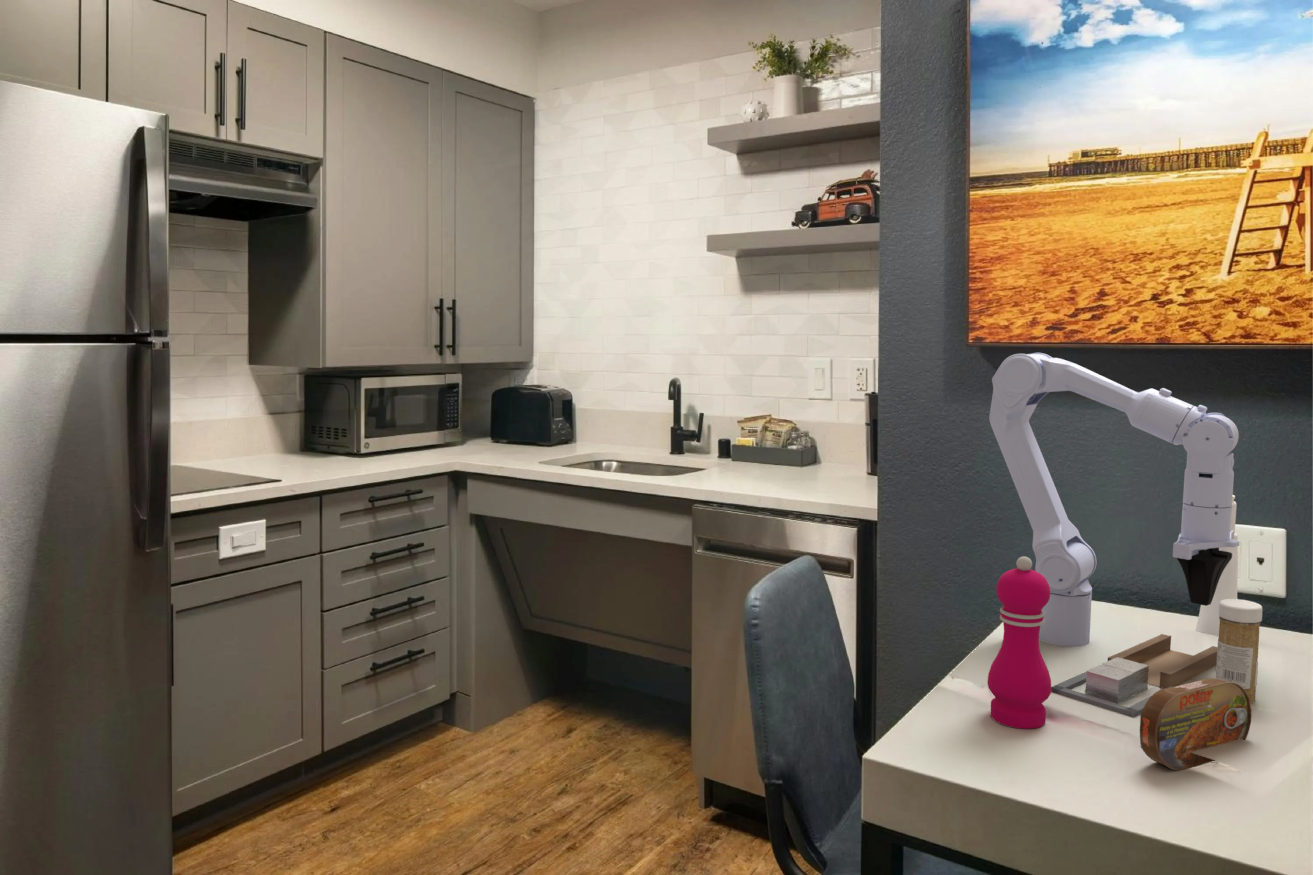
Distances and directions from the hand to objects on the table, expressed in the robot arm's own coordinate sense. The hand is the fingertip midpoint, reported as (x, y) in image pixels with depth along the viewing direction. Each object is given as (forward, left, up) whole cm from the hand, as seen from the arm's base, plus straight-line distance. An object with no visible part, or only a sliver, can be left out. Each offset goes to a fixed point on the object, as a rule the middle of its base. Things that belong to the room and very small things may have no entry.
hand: (1200, 603), depth 129 cm
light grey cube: (-2, -21, -9) cm, 23 cm away
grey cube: (-2, -17, -9) cm, 19 cm away
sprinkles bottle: (+8, -9, -10) cm, 16 cm away
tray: (-2, -19, -10) cm, 22 cm away
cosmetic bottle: (-5, +20, -10) cm, 23 cm away
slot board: (-2, -5, -10) cm, 11 cm away
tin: (+11, -28, -10) cm, 32 cm away
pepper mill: (-7, -33, -10) cm, 35 cm away
